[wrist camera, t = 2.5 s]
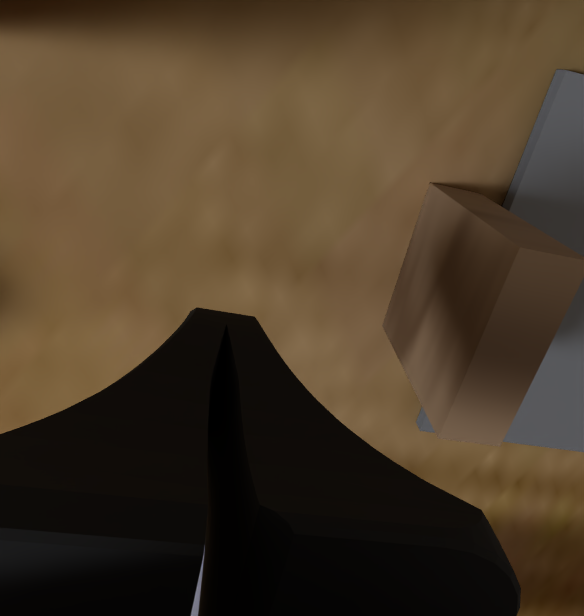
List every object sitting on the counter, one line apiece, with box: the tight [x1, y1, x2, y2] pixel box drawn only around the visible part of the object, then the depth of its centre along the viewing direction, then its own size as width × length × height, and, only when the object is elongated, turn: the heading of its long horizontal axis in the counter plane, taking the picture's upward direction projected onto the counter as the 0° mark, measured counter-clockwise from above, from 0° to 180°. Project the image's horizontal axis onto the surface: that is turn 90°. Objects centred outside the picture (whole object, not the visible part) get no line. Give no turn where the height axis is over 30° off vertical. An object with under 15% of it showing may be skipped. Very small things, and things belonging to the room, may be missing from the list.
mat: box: [416, 70, 584, 452], centre depth 21 cm, size 15×9×1 cm, turn 167°
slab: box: [382, 183, 584, 446], centre depth 17 cm, size 6×2×7 cm, turn 168°
